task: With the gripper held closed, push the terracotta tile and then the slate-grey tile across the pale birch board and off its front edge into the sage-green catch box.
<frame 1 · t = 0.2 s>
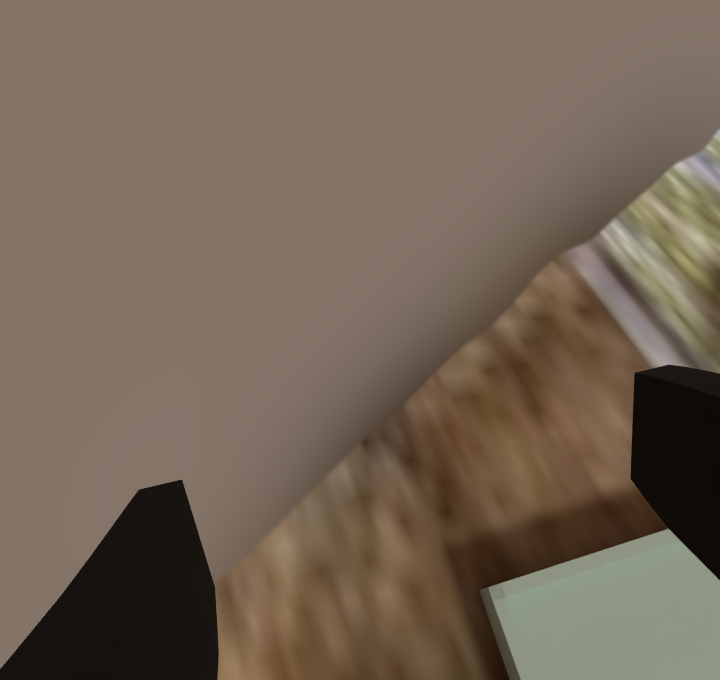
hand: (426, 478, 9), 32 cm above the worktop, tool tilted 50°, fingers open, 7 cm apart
catch box: (677, 649, 37), on the worktop
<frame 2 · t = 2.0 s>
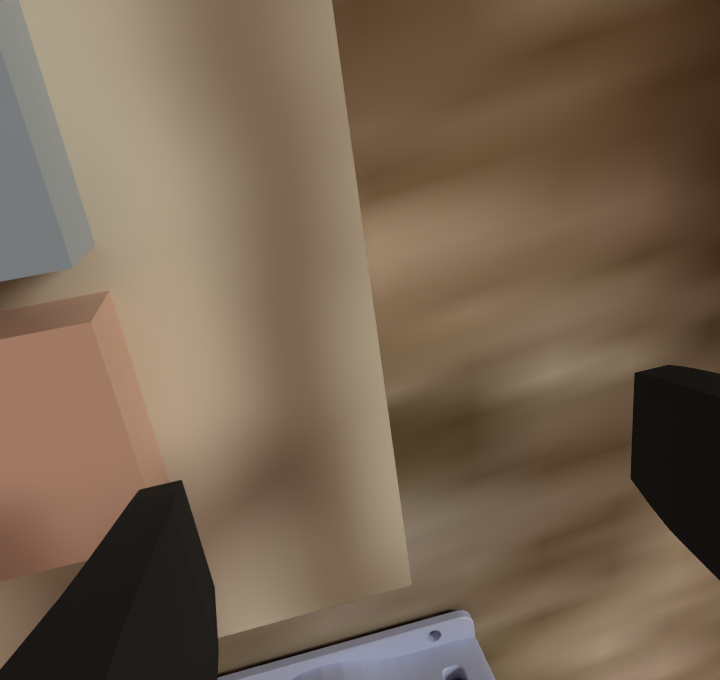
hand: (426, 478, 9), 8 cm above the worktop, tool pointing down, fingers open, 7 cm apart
birch board: (19, 256, 15), on the worktop
terracotta tile: (25, 420, 13), point 3 cm above the worktop, touching birch board
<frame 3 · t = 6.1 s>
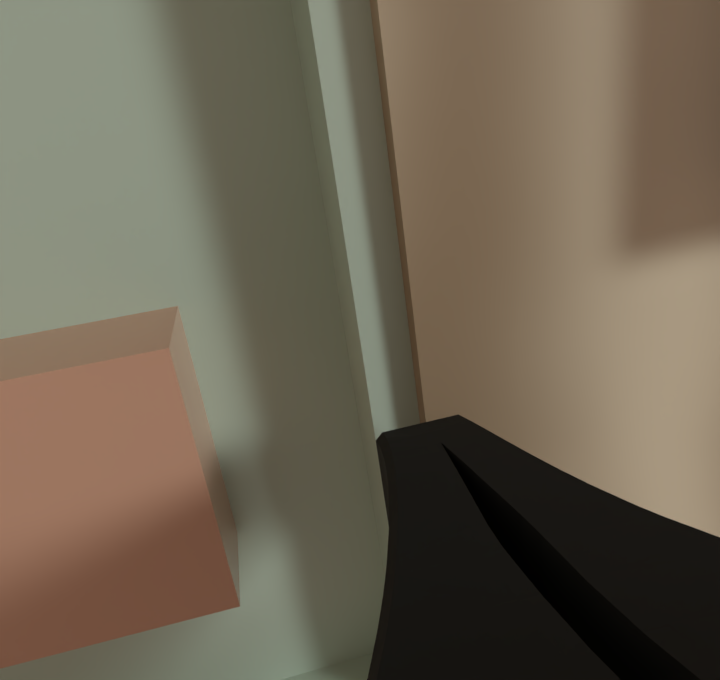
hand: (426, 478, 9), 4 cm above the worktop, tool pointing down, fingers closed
catch box: (11, 306, 11), on the worktop
terracotta tile: (45, 527, 9), point 3 cm above the worktop, tilted 180°, touching catch box
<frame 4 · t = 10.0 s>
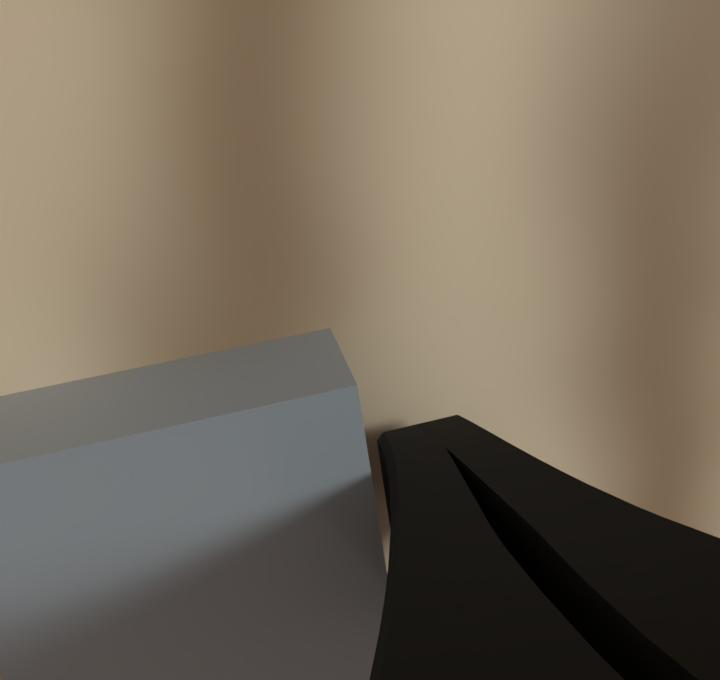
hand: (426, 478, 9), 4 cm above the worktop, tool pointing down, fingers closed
birch board: (317, 514, 14), on the worktop
slate tile: (200, 505, 10), point 3 cm above the worktop, touching birch board, gripper
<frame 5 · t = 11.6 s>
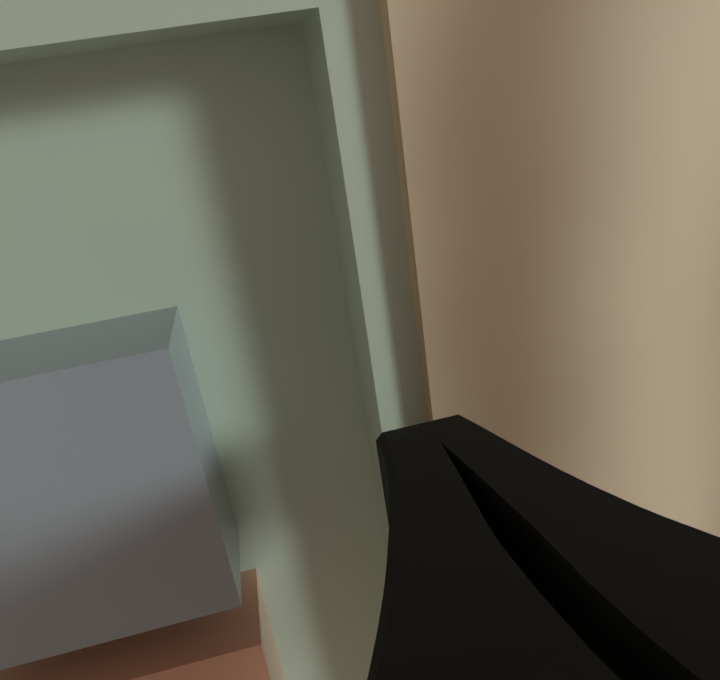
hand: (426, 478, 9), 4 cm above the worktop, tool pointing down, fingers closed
catch box: (117, 564, 13), on the worktop
birch board: (715, 413, 15), on the worktop
slate tile: (46, 528, 9), point 3 cm above the worktop, tilted 180°, touching catch box
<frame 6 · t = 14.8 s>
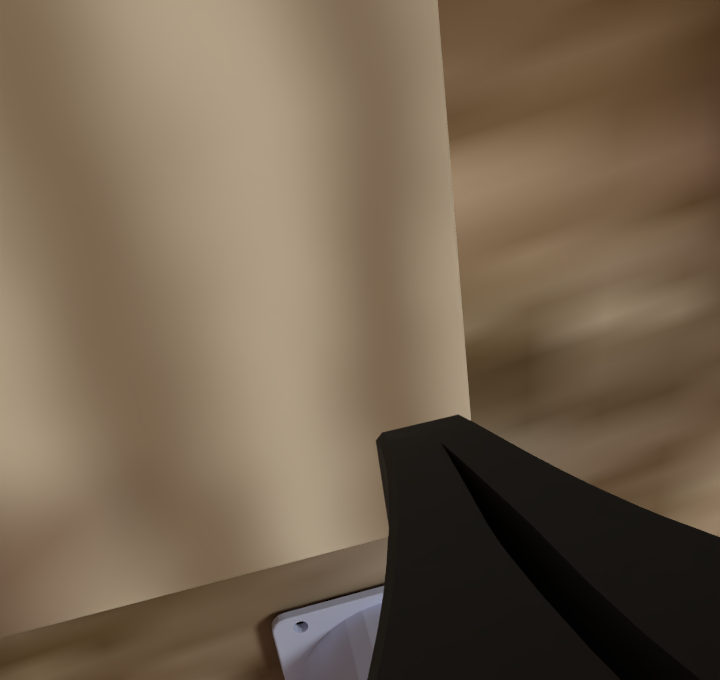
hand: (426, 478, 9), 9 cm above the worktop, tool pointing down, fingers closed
birch board: (116, 191, 16), on the worktop
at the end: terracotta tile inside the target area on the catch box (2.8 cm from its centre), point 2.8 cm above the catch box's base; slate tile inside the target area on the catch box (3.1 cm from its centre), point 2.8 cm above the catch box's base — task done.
